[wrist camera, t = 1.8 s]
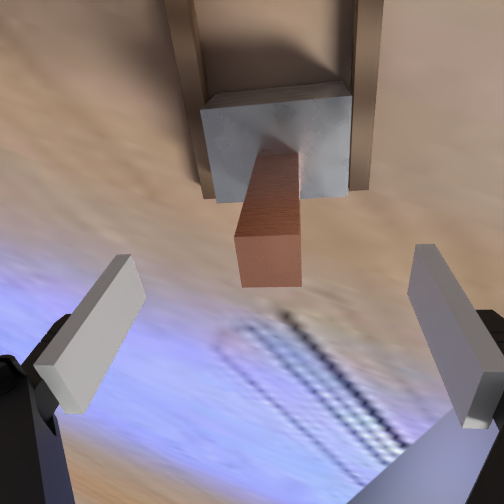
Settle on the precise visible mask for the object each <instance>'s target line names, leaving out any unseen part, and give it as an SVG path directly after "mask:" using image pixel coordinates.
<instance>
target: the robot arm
mask: <svg viewBox="0 0 504 504" xmlns="http://www.w3.org/2000/svg"><path fill="white" fill-rule="evenodd" d="M407 294H408V296H409V299H410V301H411V304H412V306H413V309H414V311H415V314H416V316H417V319H418V321H419V323H420V326H421V328H422V331H423V333H424V336H425V338H426V341H427V343H428V346H429V348H430V350H431V353H432V355H433V358H434V360H435V363H436V365H437V368H438V370H439V373H440V375H441V377H442V380H443V382H444V385H445V387H446V390H447V392H448V395H449V397H450V400H451V402H452V404H453V407H454V409H455V412H456V414H457V417H458V419H459V421H460V424H461V427H462V428H474V429H488V428H489V426H490V424H491V422H492V419H494V421H495V423H496V425H497V427H498V429H499V433H498V435H497V437H496V440H495V442H494V444H493V446H492V448H491V450H490V452H489V454H488V456H487V459H486V461H485V463H484V465H483V467H482V469H481V471H480V474H479V476H478V478H477V480H476V482H475V484H474V486H473V488H472V490H471V492H470V494H469V497H468V499H467V501H466V503H465V504H504V318H503V317H501V316H500V315H499V314H497V313H496V312H495V311H493V310H475V309H474V307H473V305H472V304H471V302H470V301H469V299H468V297H467V296H466V294H465V292H464V291H463V289H462V288H461V286H460V284H459V283H458V281H457V280H456V278H455V276H454V275H453V273H452V271H451V270H450V268H449V267H448V265H447V263H446V262H445V260H444V258H443V257H442V255H441V254H440V252H439V250H438V249H437V247H436V246H435V244H418V245H416V246H415V252H414V258H413V264H412V269H411V275H410V281H409V287H408V293H407ZM146 298H147V297H146V294H145V292H144V289H143V286H142V283H141V280H140V277H139V275H138V272H137V269H136V266H135V263H134V260H133V257H132V255H131V254H126V255H116V256H115V258H114V259H113V260H112V262H111V263H110V264H109V266H108V267H107V268H106V270H105V271H104V272H103V274H102V275H101V276H100V278H99V279H98V280H97V281H96V283H95V284H94V285H93V287H92V288H91V289H90V291H89V292H88V293H87V295H86V296H85V297H84V299H83V300H82V301H81V303H80V304H79V305H78V307H77V308H76V309H75V310H74V312H73V313H72V314H66V315H64V316H63V317H62V318H60V319H59V320H58V321H56V322H55V323H54V324H53V326H52V327H51V328H50V329H49V331H48V332H47V334H45V336H44V337H43V338H42V340H41V342H39V343H38V345H37V346H36V347H35V348H34V350H33V351H32V352H31V353H30V355H29V356H28V357H27V358H26V360H25V361H24V362H23V363H22V365H21V366H20V364H19V363H18V361H17V360H16V359H15V357H14V356H12V355H1V356H0V504H75V501H74V496H73V491H72V487H71V482H70V477H69V473H68V468H67V463H66V458H65V454H64V449H63V444H62V440H61V435H60V430H59V426H58V421H57V418H56V416H55V414H54V412H55V410H56V408H57V407H58V405H60V406H61V408H62V409H63V411H64V412H65V414H85V412H86V410H87V408H88V406H89V404H90V402H91V400H92V399H93V397H94V395H95V393H96V391H97V389H98V387H99V386H100V384H101V382H102V380H103V378H104V376H105V374H106V372H107V371H108V369H109V367H110V365H111V363H112V361H113V359H114V358H115V356H116V354H117V352H118V350H119V348H120V346H121V344H122V343H123V341H124V339H125V337H126V335H127V333H128V331H129V329H130V328H131V326H132V324H133V322H134V320H135V318H136V316H137V315H138V313H139V311H140V309H141V307H142V305H143V303H144V301H145V300H146Z"/></svg>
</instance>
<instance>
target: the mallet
mask: <svg viewBox="0 0 504 504" xmlns="http://www.w3.org/2000/svg"><path fill="white" fill-rule="evenodd" d="M351 109H352V95H351V93H350V92H349V90H348V89H347V87H346V86H345V84H344V83H343V81H333V82H323V83H313V84H304V85H294V86H284V87H274V88H264V89H254V90H244V91H234V92H224V93H216V94H215V95H214V96H213V97H212V98H211V99H210V100H209V101H208V102H207V103H206V104H205V105H204V106H203V107H202V108H201V109H200V113H201V118H202V124H203V129H204V135H205V140H206V146H207V151H208V157H209V163H210V168H211V174H212V179H213V185H214V190H215V196H216V201H217V203H233V202H244V203H243V207H242V210H241V214H240V217H239V221H238V225H237V228H236V232H235V235H234V240H235V247H236V253H237V259H238V265H239V272H240V278H241V284H242V288H243V287H302V274H301V221H300V199H308V198H327V197H345V196H348V175H349V153H350V131H351Z"/></svg>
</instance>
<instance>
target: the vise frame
mask: <svg viewBox="0 0 504 504" xmlns="http://www.w3.org/2000/svg"><path fill="white" fill-rule="evenodd" d="M383 4H384V0H354V21H353V45H352V68H351V92H350V93H351V95H352V109H351V131H350V153H349V175H348V188H349V191H357V190H369V178H370V166H371V153H372V141H373V129H374V116H375V104H376V91H377V79H378V66H379V54H380V41H381V29H382V16H383ZM164 5H165V10H166V15H167V20H168V25H169V30H170V35H171V40H172V45H173V50H174V54H175V59H176V64H177V69H178V74H179V79H180V84H181V89H182V94H183V99H184V104H185V109H186V114H187V119H188V124H189V129H190V134H191V139H192V144H193V149H194V154H195V159H196V164H197V169H198V174H199V178H200V183H201V188H202V193H203V198H204V199H213V198H216V196H215V190H214V185H213V179H212V174H211V168H210V163H209V157H208V151H207V146H206V140H205V135H204V129H203V124H202V118H201V113H200V109H201V108H202V107H203V106H204V105H205V104H206V103H207V102H208V101H209V100H210V98H209V92H208V86H207V80H206V74H205V67H204V61H203V55H202V49H201V43H200V37H199V31H198V25H197V19H196V12H195V6H194V0H164Z"/></svg>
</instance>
